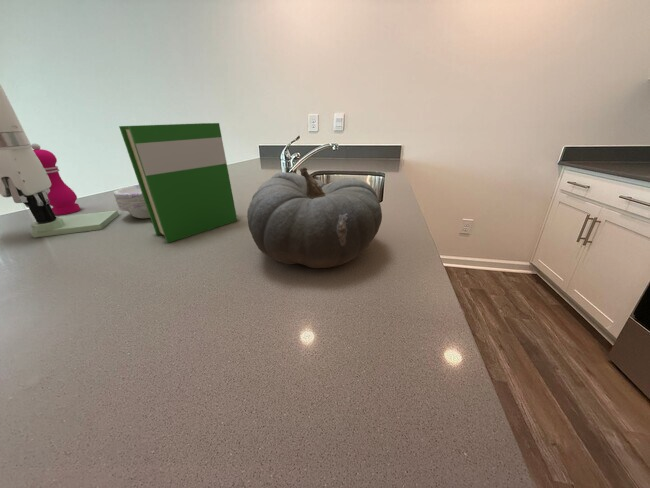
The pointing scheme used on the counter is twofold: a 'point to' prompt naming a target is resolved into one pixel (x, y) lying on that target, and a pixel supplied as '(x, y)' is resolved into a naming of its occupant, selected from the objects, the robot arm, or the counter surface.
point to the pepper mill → (56, 184)
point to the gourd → (313, 219)
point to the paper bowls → (132, 201)
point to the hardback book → (181, 176)
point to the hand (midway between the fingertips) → (47, 220)
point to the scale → (74, 223)
